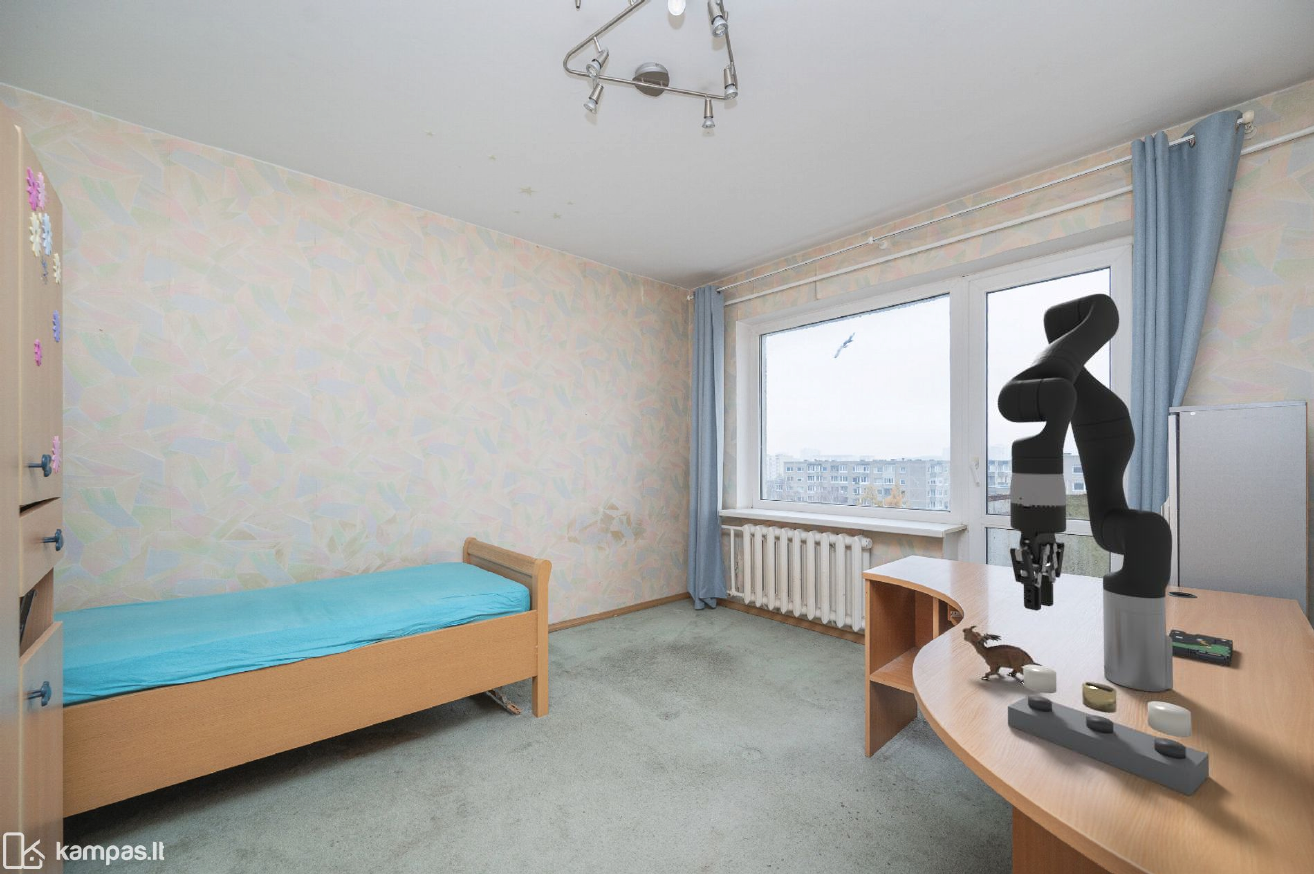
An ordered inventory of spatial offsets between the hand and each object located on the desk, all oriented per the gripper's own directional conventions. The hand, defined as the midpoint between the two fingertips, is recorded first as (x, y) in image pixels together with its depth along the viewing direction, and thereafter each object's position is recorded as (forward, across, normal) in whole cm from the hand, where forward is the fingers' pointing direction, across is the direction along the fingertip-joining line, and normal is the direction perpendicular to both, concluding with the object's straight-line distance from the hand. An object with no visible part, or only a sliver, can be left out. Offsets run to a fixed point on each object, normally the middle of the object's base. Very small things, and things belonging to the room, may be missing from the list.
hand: (1038, 606), depth 91 cm
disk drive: (+20, -68, +4) cm, 70 cm away
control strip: (+19, 0, +8) cm, 21 cm away
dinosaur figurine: (+20, -16, -13) cm, 28 cm away
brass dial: (+13, 0, +8) cm, 15 cm away
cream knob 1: (+13, 0, 0) cm, 13 cm away
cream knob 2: (+13, 0, +16) cm, 21 cm away
